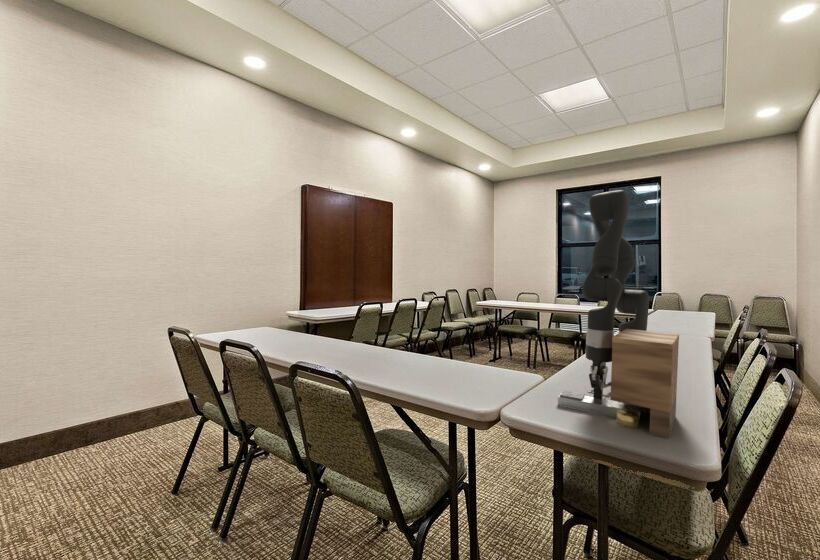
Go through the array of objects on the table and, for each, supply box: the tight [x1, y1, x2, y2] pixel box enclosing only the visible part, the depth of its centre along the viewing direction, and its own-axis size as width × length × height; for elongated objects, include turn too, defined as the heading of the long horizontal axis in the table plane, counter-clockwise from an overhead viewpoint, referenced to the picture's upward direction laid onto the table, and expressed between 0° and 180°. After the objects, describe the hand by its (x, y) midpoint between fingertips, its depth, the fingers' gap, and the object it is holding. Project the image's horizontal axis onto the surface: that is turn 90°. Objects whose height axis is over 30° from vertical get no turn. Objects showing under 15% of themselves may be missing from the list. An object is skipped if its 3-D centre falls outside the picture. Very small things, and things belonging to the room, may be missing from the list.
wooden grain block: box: [609, 329, 680, 440], centre depth 104 cm, size 19×13×23 cm
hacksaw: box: [587, 381, 611, 399], centre depth 129 cm, size 24×10×2 cm, turn 128°
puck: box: [615, 410, 639, 429], centre depth 102 cm, size 5×5×3 cm
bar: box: [557, 389, 641, 423], centre depth 112 cm, size 6×21×4 cm, turn 57°
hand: (597, 400), depth 116 cm, fingers closed
